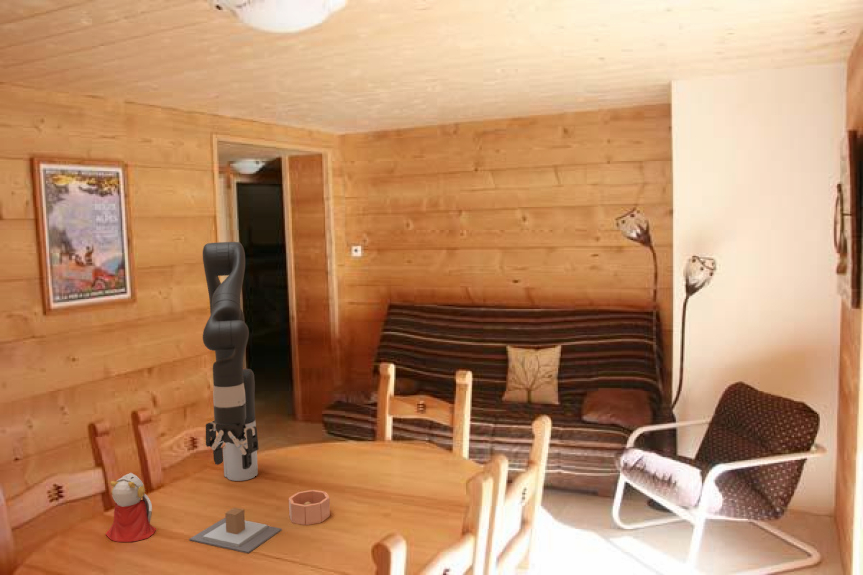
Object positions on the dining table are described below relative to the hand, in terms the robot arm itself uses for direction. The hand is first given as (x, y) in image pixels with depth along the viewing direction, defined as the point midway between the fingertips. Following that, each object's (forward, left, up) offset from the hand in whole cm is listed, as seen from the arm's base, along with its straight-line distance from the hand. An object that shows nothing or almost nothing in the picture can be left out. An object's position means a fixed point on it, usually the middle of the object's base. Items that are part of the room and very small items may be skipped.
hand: (232, 465), depth 167 cm
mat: (0, 0, -18) cm, 18 cm away
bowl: (+11, +16, -18) cm, 26 cm away
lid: (0, 0, -17) cm, 17 cm away
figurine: (-26, -8, -18) cm, 33 cm away
